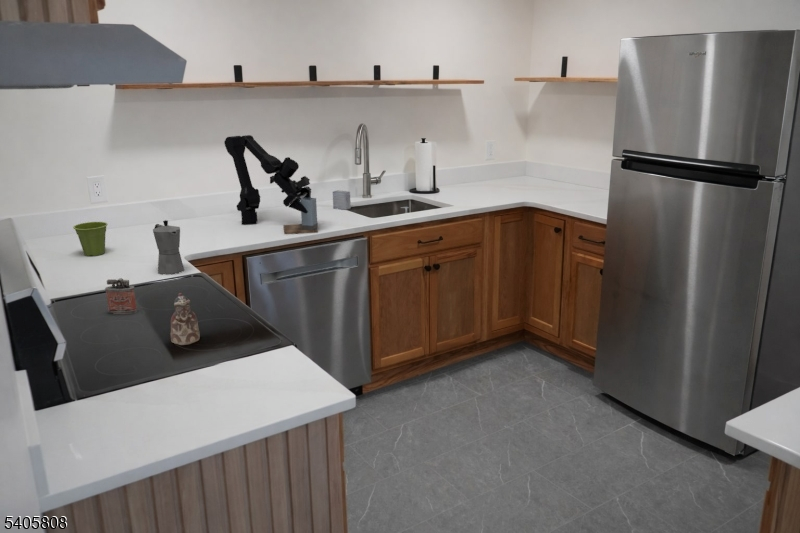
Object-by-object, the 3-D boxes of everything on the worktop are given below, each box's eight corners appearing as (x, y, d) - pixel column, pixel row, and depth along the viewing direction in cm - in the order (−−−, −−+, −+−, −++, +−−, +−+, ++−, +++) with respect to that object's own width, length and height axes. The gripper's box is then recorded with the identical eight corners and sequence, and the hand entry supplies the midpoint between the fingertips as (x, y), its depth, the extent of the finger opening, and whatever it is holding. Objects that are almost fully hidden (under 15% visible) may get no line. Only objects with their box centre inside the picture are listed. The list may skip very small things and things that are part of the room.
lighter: (139, 309, 192) (134, 277, 189) (135, 313, 189) (130, 280, 186) (111, 310, 192) (106, 277, 189) (106, 314, 188) (101, 281, 186)
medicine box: (351, 208, 328) (350, 191, 325) (345, 210, 324) (345, 192, 322) (338, 207, 332) (337, 190, 329) (333, 208, 328) (332, 191, 326)
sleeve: (301, 229, 281) (299, 199, 277) (306, 226, 286) (305, 197, 282) (313, 230, 280) (311, 200, 276) (318, 227, 285) (316, 198, 281)
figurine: (170, 346, 166) (165, 301, 163) (172, 335, 173) (166, 292, 169) (199, 342, 168) (195, 298, 165) (200, 332, 175) (195, 290, 171)
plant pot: (70, 257, 247) (65, 227, 244) (93, 248, 258) (88, 220, 254) (96, 259, 244) (92, 229, 240) (118, 250, 254) (114, 222, 251)
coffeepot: (192, 272, 227) (187, 221, 222) (166, 277, 221) (160, 225, 216) (172, 263, 238) (167, 214, 233) (147, 268, 232) (141, 218, 226)
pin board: (284, 234, 278) (283, 222, 276) (283, 227, 290) (282, 216, 289) (317, 232, 280) (317, 221, 279) (315, 225, 293) (314, 214, 291)
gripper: (288, 174, 268) (315, 202, 269) (306, 167, 285) (330, 193, 286) (272, 192, 272) (298, 220, 273) (290, 185, 290) (314, 210, 290)
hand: (311, 210), depth 280 cm, fingers open, 9 cm apart
